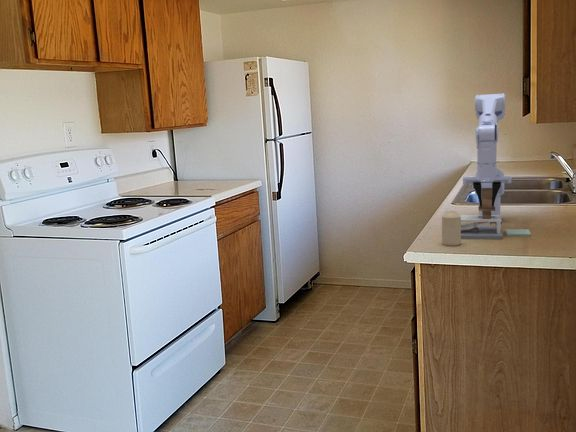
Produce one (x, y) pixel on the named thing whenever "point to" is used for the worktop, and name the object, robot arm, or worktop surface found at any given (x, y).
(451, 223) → the candle
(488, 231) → the breaker housing
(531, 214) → the worktop surface
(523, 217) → the worktop surface
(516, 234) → the mat
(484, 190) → the brown block
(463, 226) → the rocker switch
